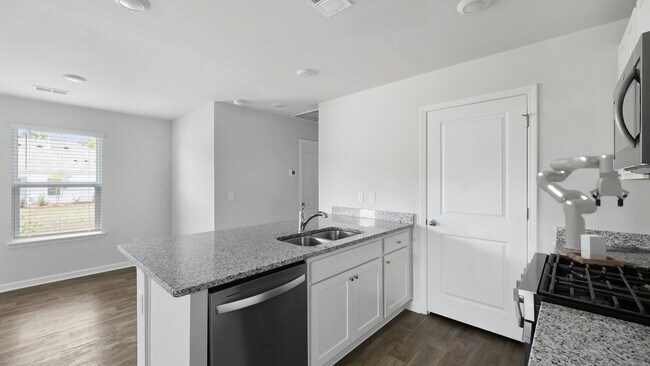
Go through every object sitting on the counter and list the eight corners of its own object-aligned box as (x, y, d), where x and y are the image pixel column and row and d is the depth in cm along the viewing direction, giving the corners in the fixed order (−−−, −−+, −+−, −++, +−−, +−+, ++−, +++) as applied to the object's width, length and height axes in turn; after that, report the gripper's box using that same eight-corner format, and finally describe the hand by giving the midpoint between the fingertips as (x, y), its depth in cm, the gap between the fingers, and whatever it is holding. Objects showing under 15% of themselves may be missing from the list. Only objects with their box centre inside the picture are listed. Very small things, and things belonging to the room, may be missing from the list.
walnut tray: (566, 256, 161) (566, 251, 161) (602, 258, 155) (602, 253, 155) (582, 263, 144) (582, 258, 144) (623, 266, 138) (623, 261, 138)
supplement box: (607, 261, 145) (606, 236, 145) (589, 260, 147) (589, 236, 147) (596, 258, 152) (596, 234, 153) (580, 257, 154) (580, 234, 154)
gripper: (624, 176, 162) (624, 206, 161) (586, 176, 168) (586, 205, 167) (632, 175, 155) (633, 207, 154) (592, 176, 161) (593, 206, 160)
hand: (609, 206), depth 161 cm, fingers open, 9 cm apart
